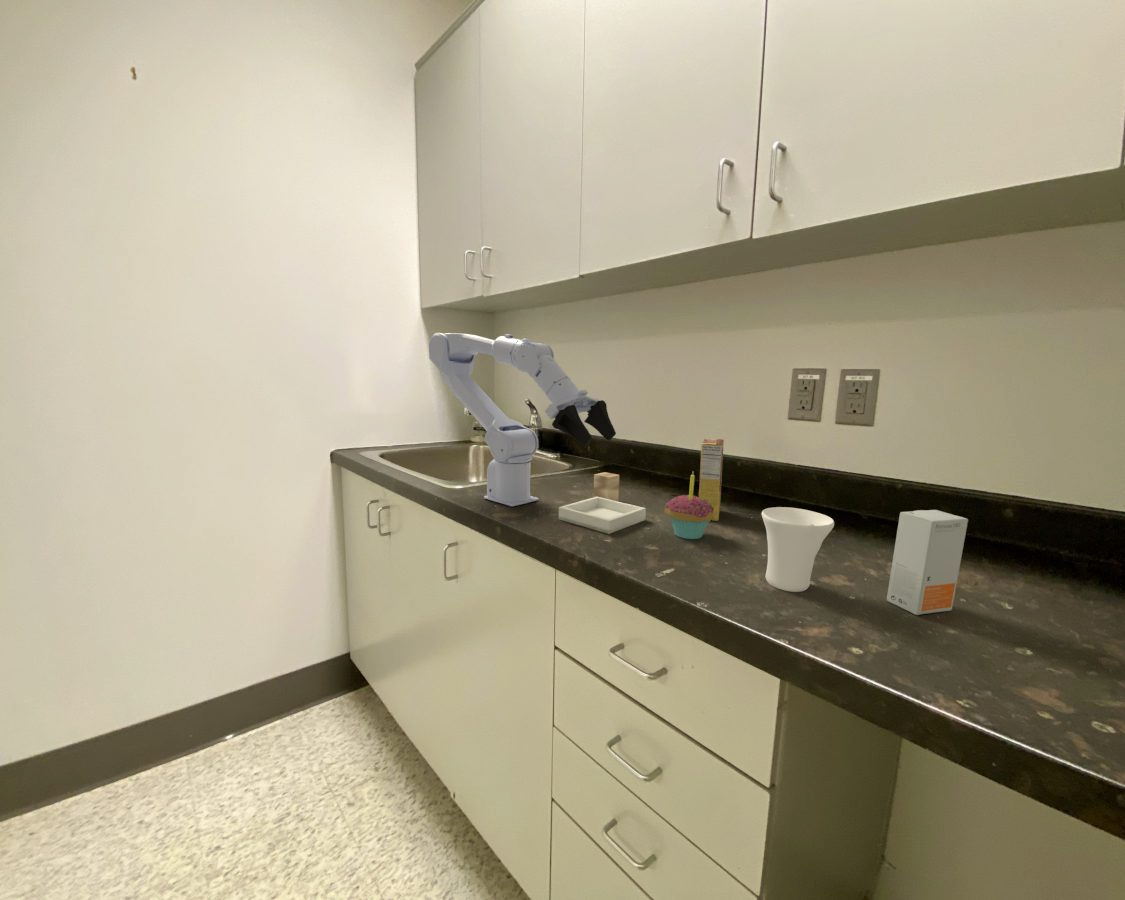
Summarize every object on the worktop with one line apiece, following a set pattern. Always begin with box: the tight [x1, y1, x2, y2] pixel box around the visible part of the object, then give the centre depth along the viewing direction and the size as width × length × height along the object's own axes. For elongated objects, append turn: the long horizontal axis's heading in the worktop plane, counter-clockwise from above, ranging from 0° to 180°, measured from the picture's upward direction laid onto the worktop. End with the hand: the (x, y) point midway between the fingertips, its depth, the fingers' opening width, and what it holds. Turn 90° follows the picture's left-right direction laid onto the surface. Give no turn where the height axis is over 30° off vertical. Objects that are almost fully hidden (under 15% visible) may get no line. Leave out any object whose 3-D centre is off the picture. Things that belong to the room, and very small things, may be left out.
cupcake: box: [664, 470, 714, 540], centre depth 85 cm, size 9×8×12 cm
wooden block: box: [592, 471, 620, 502], centre depth 107 cm, size 4×4×6 cm
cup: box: [761, 506, 835, 593], centre depth 66 cm, size 9×9×10 cm
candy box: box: [698, 438, 725, 522], centre depth 98 cm, size 9×4×15 cm, turn 160°
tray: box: [557, 496, 647, 535], centre depth 93 cm, size 12×12×2 cm
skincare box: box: [886, 509, 969, 616], centre depth 60 cm, size 6×4×12 cm
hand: (600, 439), depth 90 cm, fingers open, 7 cm apart
